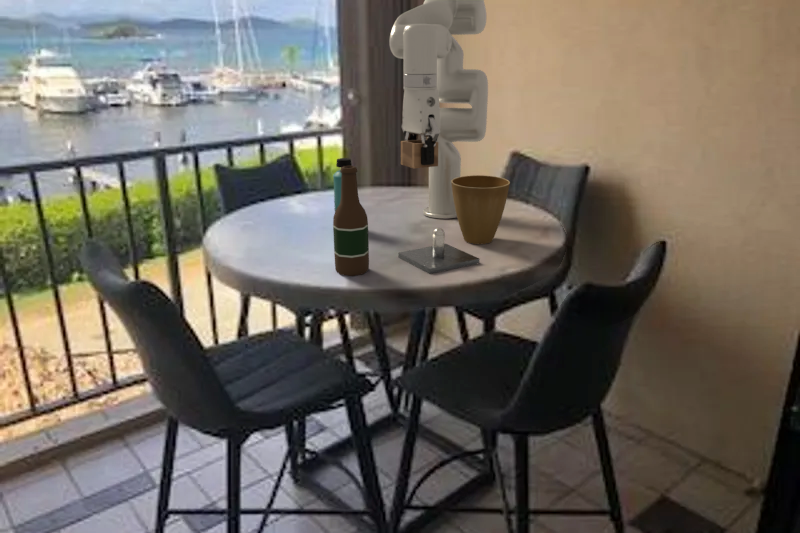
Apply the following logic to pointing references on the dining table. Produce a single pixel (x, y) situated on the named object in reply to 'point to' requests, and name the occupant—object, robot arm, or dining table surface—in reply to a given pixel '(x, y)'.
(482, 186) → the plant pot
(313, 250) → the dining table surface
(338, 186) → the beverage bottle
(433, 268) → the post block
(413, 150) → the walnut collar
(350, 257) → the beer bottle
